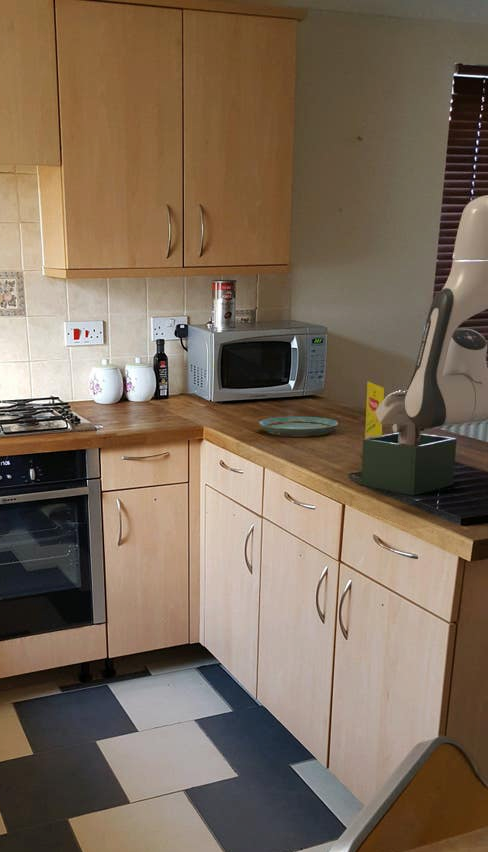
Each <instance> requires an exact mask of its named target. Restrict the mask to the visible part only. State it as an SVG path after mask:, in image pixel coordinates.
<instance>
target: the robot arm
mask: <svg viewBox="0 0 488 852" xmlns="http://www.w3.org/2000/svg"><path fill="white" fill-rule="evenodd" d="M487 310H488V194H487V195H481V196H479V197H476V198H474V199H473V200H471V201H469V202H468V203H467V204H466V205H465V206H464V208H463V211H462V214H461V216H460V219H459V224H458V227H457V233H456V237H455V242H454V248H453V255H452V264H451V269H450V272H449V275H448V278H447V280H446V282H445V284H444V286H443V287H442V289H441V290H440V291H438V292H437V293H436V294H435V295H434V297H433V298H432V301H431V303H430V307H429V310H428V312H427V316H426V321H425V323H424V329H423V333H422V337H421V341H420V343H419V348H418V354H417V356H416V362H415V365H414V370H413V373H412V376H411V378H410V381H409V383H408V386H407V389H406V390H397V391H393V392H391V393H389V394H387V396H385V397H384V400H383V401H382V402H381V404H380V405H379V406H378V408H377V409H376V416H377V419H378V421H379V422H380V424H381V425H382V426H387V425H388V426H389V425H392V431H393V433H399V432H401V431H402V430H403V426H402V424H403V423H414V424H415V425H417V426H418V427H420V428H421V432H425V431H426V430H428V429H433V428H438V427H442V426H450V425H461V424H466V423H467V424H468V423H477V422H478V423H479V422H484V421H486V420H488V363H487V352H488V341H487V339H486V338H485V337H484V336H483V334H481V333H480V332H478V331H476V330H474V329H470V328H458V327H459V326H460V325H462V324H463V323H464V322H465V321H467V320H468V319H470V318H471V317H473V316H475V315H477V314H479V313H482V312H484V311H487Z"/></svg>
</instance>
